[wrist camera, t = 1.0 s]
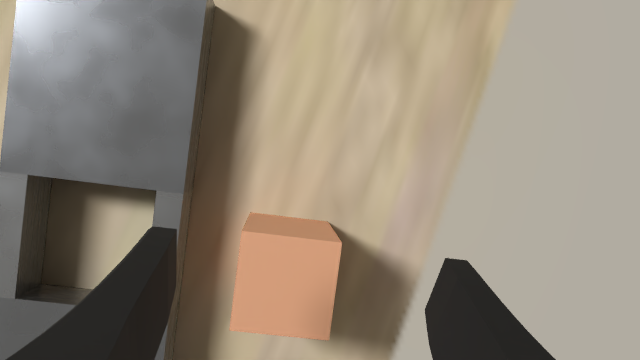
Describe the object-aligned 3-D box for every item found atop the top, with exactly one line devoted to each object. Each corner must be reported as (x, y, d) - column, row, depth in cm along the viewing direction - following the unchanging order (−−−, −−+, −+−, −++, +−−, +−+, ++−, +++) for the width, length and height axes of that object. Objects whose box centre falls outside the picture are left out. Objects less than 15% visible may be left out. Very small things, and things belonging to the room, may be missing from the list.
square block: (317, 297, 27) (328, 340, 21) (240, 289, 26) (229, 330, 20) (328, 221, 26) (342, 242, 20) (250, 212, 26) (241, 230, 20)
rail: (158, 473, 26) (146, 507, 24) (-4, 461, 26) (-34, 494, 23) (214, 5, 25) (208, -11, 23) (47, -22, 24) (20, -41, 22)
